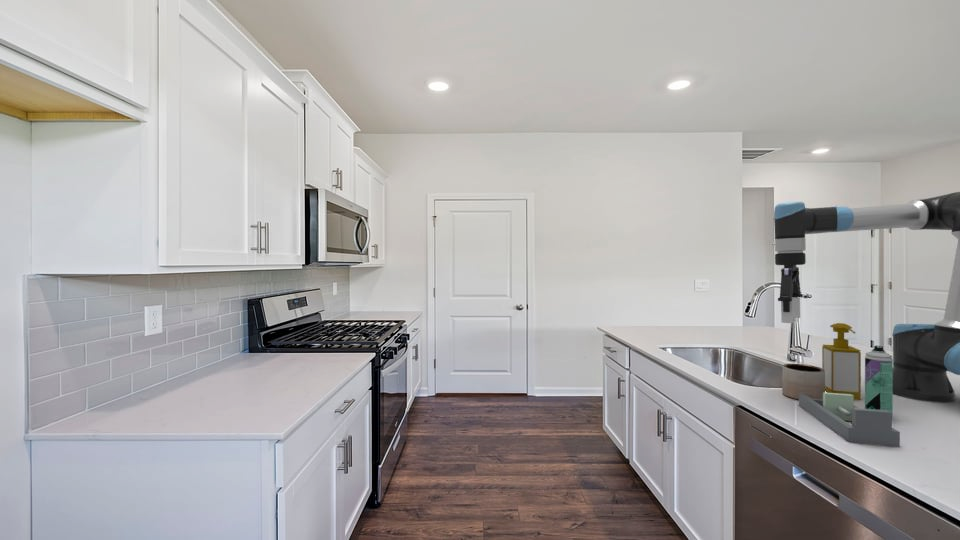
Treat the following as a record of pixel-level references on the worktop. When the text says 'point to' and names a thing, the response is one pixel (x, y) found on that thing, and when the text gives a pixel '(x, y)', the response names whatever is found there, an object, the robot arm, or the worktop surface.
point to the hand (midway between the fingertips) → (791, 320)
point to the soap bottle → (842, 364)
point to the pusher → (839, 404)
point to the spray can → (878, 380)
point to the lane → (856, 423)
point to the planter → (803, 381)
